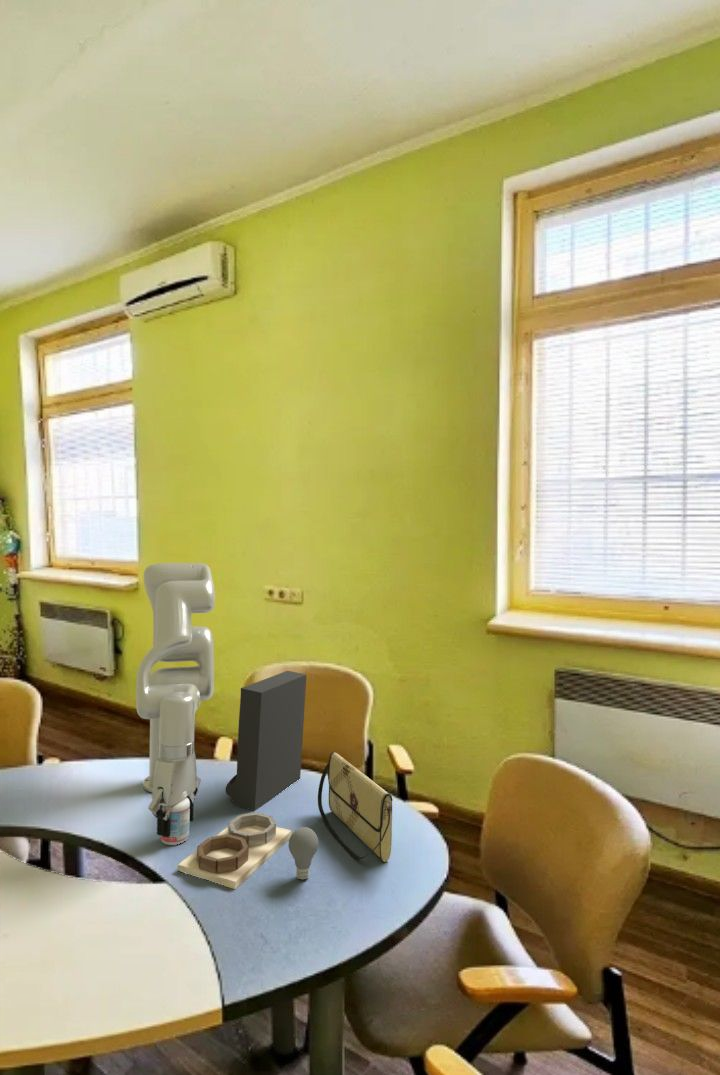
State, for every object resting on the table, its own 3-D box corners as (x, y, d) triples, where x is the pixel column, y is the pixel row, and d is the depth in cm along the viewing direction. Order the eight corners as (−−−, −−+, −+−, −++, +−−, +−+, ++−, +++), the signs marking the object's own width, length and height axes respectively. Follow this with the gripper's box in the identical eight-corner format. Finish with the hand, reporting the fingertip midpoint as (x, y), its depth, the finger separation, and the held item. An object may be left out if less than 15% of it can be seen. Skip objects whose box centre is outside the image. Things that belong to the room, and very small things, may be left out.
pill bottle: (155, 841, 135) (155, 791, 135) (175, 829, 141) (175, 781, 141) (175, 849, 133) (176, 798, 132) (195, 836, 138) (195, 787, 138)
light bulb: (304, 866, 127) (305, 818, 127) (323, 878, 123) (324, 829, 123) (281, 877, 123) (282, 828, 123) (300, 890, 119) (301, 839, 118)
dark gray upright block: (271, 772, 174) (273, 668, 174) (304, 780, 169) (306, 673, 169) (223, 802, 155) (225, 685, 155) (259, 812, 150) (261, 691, 150)
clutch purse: (310, 813, 151) (311, 753, 150) (335, 807, 154) (336, 748, 154) (368, 875, 124) (369, 802, 124) (397, 866, 128) (398, 796, 127)
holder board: (239, 823, 144) (239, 807, 144) (291, 836, 139) (291, 819, 139) (177, 871, 124) (178, 852, 124) (235, 889, 119) (235, 869, 118)
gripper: (188, 734, 146) (187, 807, 146) (135, 759, 130) (134, 842, 130) (214, 739, 143) (213, 814, 143) (163, 765, 127) (162, 850, 127)
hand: (175, 826), depth 137 cm, fingers open, 7 cm apart
